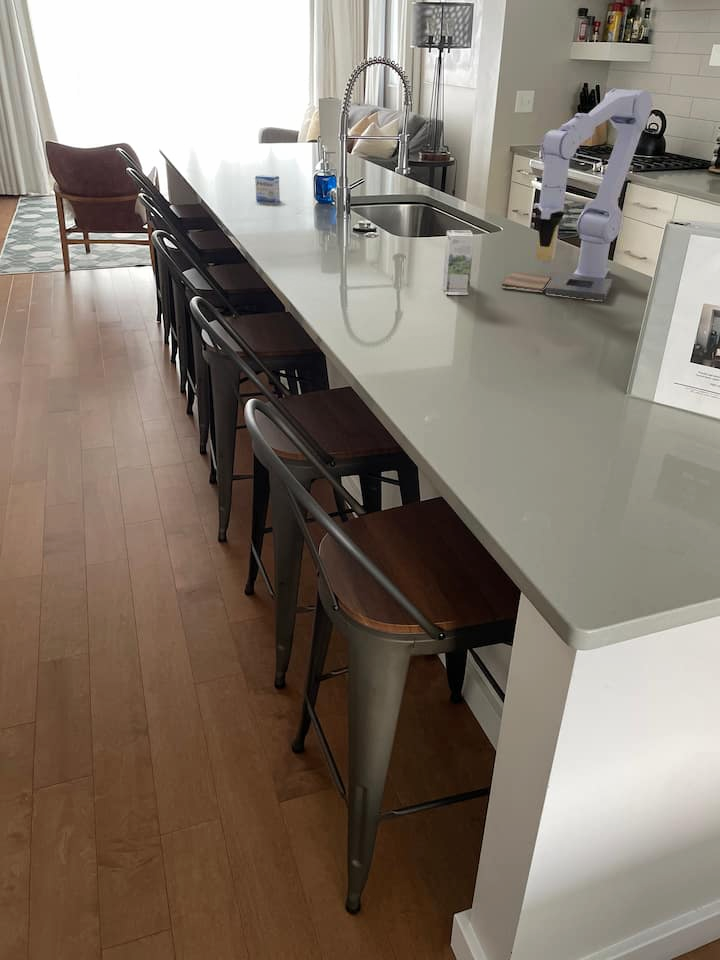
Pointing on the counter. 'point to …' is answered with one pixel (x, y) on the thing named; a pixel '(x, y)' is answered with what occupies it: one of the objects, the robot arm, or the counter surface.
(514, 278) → the walnut board
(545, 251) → the brass peg
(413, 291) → the counter surface
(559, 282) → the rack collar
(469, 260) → the syrup box
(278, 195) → the medicine box
